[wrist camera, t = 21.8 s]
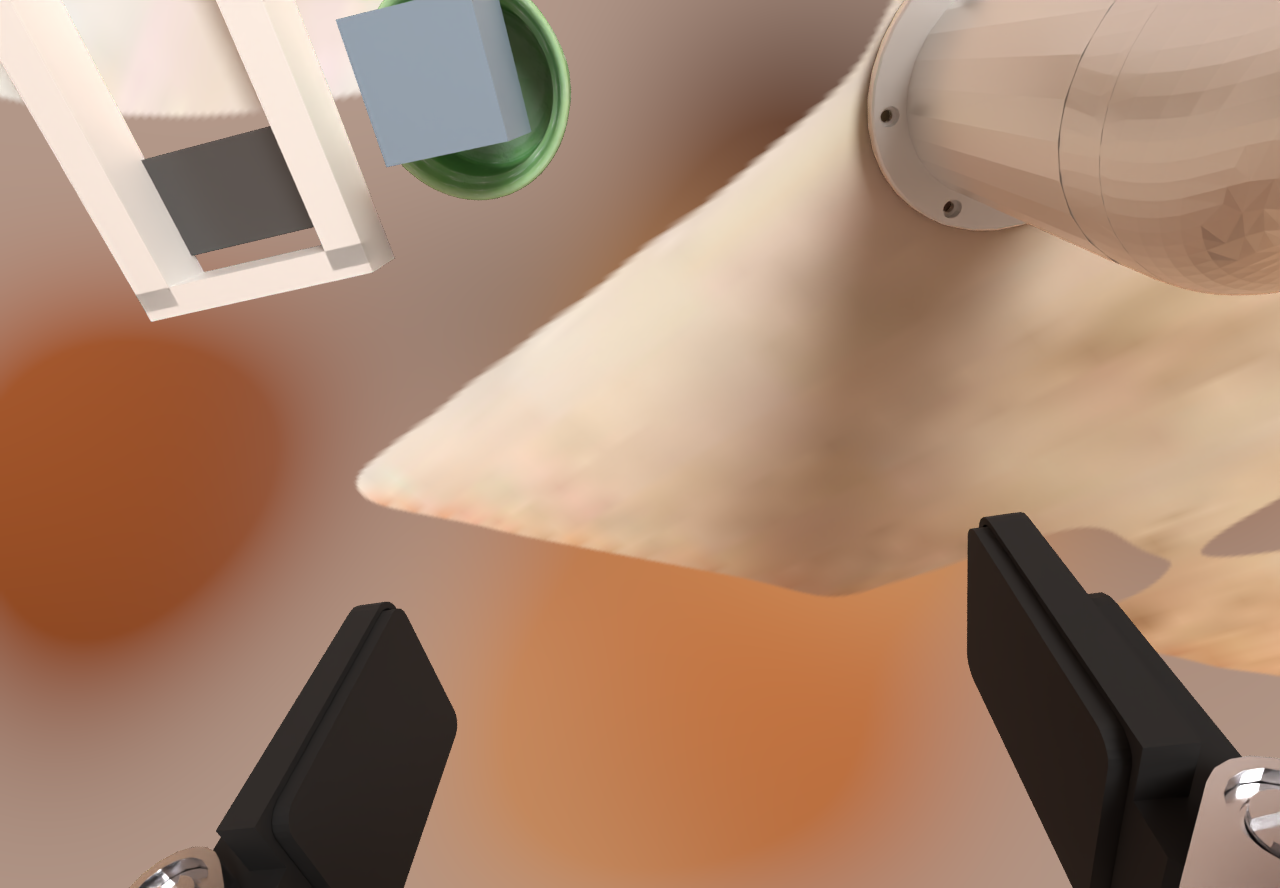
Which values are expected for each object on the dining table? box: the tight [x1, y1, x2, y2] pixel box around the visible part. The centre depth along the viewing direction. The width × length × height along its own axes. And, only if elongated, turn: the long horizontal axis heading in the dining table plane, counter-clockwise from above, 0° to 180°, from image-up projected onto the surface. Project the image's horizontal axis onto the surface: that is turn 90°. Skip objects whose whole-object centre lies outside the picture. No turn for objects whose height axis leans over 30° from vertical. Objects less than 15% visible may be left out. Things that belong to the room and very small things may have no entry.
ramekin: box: [378, 0, 571, 200], centre depth 31 cm, size 9×9×4 cm
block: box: [336, 0, 531, 167], centre depth 27 cm, size 5×5×4 cm
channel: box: [0, 0, 395, 322], centre depth 32 cm, size 13×22×3 cm, turn 13°
